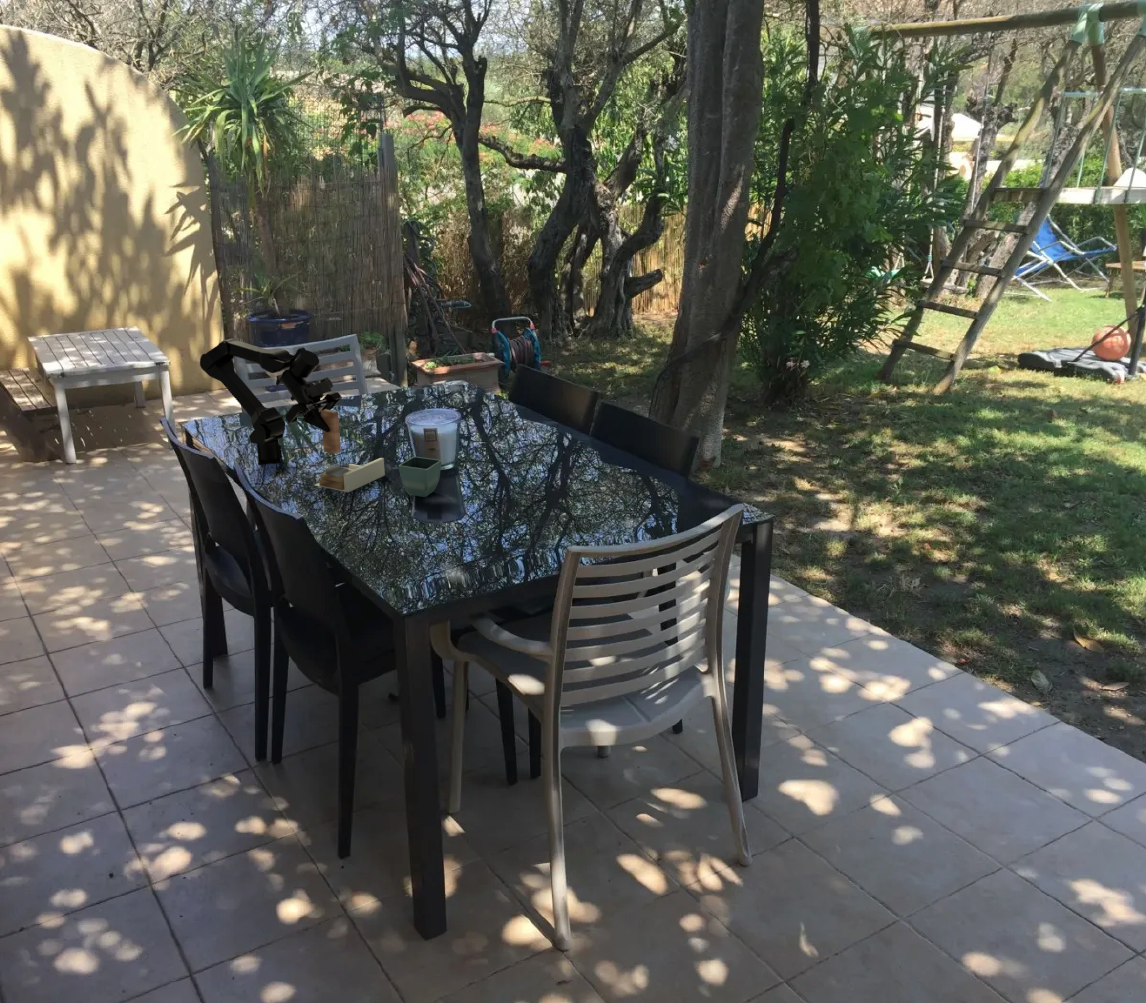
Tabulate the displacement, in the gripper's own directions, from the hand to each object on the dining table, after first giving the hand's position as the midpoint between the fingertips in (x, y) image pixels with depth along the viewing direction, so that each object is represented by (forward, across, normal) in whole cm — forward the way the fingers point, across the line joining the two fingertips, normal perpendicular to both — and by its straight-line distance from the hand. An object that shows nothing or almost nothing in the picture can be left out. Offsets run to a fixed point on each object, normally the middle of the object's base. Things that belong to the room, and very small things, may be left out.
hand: (331, 430), depth 280 cm
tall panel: (+4, 0, +5) cm, 6 cm away
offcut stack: (+14, -10, +2) cm, 18 cm away
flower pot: (+32, -2, -13) cm, 34 cm away
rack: (+16, -5, +3) cm, 16 cm away
